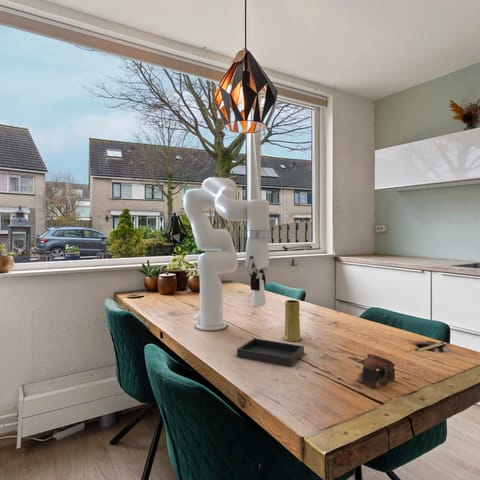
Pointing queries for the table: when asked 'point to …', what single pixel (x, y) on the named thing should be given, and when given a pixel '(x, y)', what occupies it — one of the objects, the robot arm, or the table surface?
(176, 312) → the table surface
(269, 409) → the table surface
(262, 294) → the salt shaker
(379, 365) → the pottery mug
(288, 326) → the vase
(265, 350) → the tray
